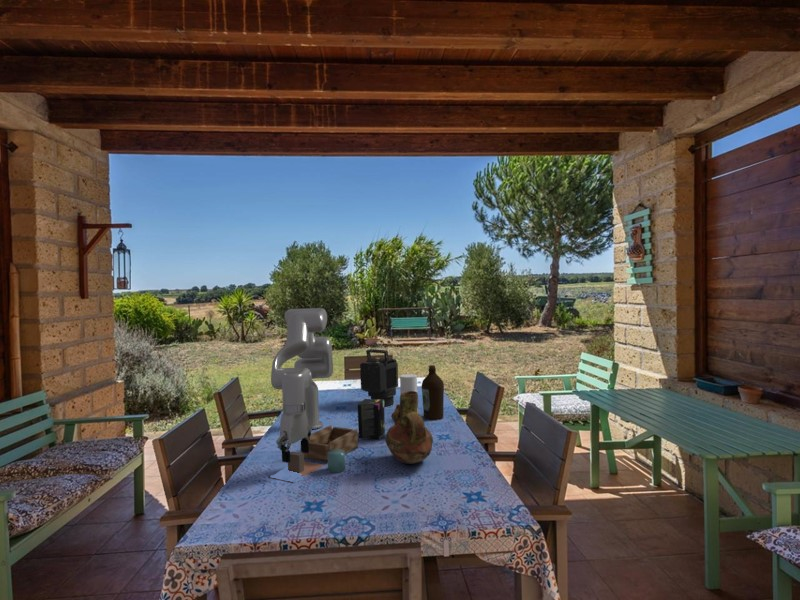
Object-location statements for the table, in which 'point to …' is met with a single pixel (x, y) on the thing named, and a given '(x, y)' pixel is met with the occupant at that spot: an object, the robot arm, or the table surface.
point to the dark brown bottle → (433, 395)
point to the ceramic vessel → (408, 431)
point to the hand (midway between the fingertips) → (295, 457)
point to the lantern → (379, 377)
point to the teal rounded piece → (336, 461)
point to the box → (331, 442)
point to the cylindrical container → (408, 383)
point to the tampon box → (371, 419)
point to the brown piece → (301, 464)
